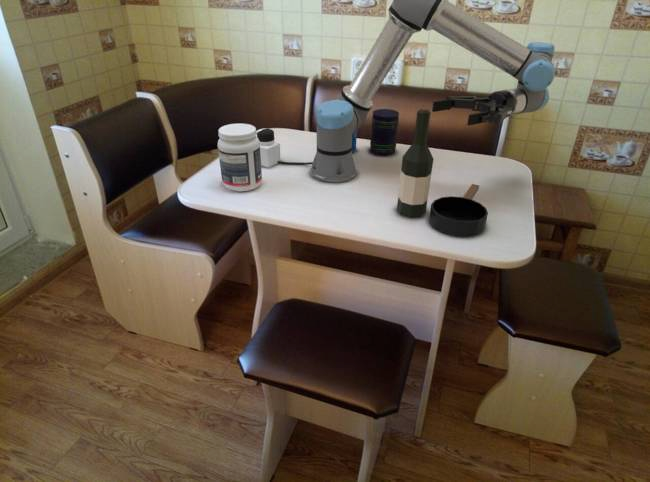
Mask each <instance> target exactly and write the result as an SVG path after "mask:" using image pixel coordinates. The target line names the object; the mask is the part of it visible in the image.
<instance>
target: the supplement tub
mask: <svg viewBox="0 0 650 482" xmlns="http://www.w3.org/2000/svg"><path fill="white" fill-rule="evenodd" d="M218 137H219V139H218V141H217V152H218V159H219V167H220V176H221V183H222V185H223V187H225V188H226V189H228V190H230V191H234V192H246V191H247V192H248V191H251V190H254V189H257V188H258V187H259V186H261V184H262V182H263V172H262V166H261V155H260V142H259V139H258V138H257V127H256V126H254V125H252V124H249V123H229V124H225V125H222V126H221V127H219V128H218Z"/></svg>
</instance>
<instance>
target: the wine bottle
mask: <svg viewBox="0 0 650 482" xmlns="http://www.w3.org/2000/svg"><path fill="white" fill-rule="evenodd" d="M431 112H432V111H430V108H429V107H426V106H424V107H423V106H422V107H419V108H418V110H417V111H416V118H415V126H414V134H413V143H412V144H411V145H410V146H409V148H408V149H407V150H406V152H405V153H404V154H403V155H402V157H401V159H402V160H401V169H400V176H399V186H398V196H397V197H398V198H397V204H396V211H397V212H398V214H399V215H400V216H402V217H406V218H409V219H416V218H422V217H423V216H424V215H425V214H426V212H427V208H428V207H427V206H428V199H429V192H430V187H431V186H430V185H431V179H432V173H433V165H434V157H433V155H432V153H431V150H430V147H429V146H428V144H427V143H428V142H427V141H428V135H429V126H430V120H431Z"/></svg>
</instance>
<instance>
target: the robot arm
mask: <svg viewBox="0 0 650 482" xmlns="http://www.w3.org/2000/svg"><path fill="white" fill-rule="evenodd" d="M387 11H388V20H387V21H386V22H385V24H384V26H383V27H382V29H381V31H380V33H379V35H378V37H377V39H376V40H375V41H374V43H373V45H372V47H371V49H370V50H369V52H368V54H367V55H366V57H365V58H364V60H363V62H362V63H361V66H360V67H359V69H358V71H357V73H356V74H355V76H354V78H353V79H352V81H351V82H350V84H349V85H344V86H343V88H342V89H341V91H340V93H339V94H338V96H337V98H336V99H331V100H328V101H324V102H321V103H320V104H319V106H318V107H317V109H316V115H315V116H316V117H315V120H316V121H315V122H316V153H315V154H314V158H313V160H312V161H311V162H309V161H308V162H307V161H306V162H293V161H292V162H290V161H289V162H288V161H278V163H277V164H281V165H282V164H283V165H296V166H297V165H298V166H299V165H300V166H306V165H311V167H310V168H311V169H310V174H311V176H312V177H313V178H314V179H316V180H318V181H320V182H325V183H343V182H344V183H345V182H349V181H351V180H352V179H354V178H355V177H356V176H357V167H356V164H355V160H354V156H353V152H351V151H352V134H353V133H354V132H355V131H356V130H357V131H358V129H359V128H360V127H361V126H362V125H363V124H365V123H364V122H365V121H366V119H367V117H368V114H369V113H370V111H371V109H372V107H373V106H374V102H373V98H374V97H375V95H376V93H377V91H378V90H379V89H380V87H381V86H382V84H383V82H384V80H385V79H386V77H387V75H388V74H389V72H390V71H391V69H392V68H393V66H394V64H395V63H396V61H397V60H398V58H399V57H400V55H401V53H402V52H403V50H404V48H405V47H406V45H407V44H408V42H409V40H410V39H411V37H412V36H413V35H414V34H416V33H420V32H421V31H422V30H424V31H426V32H428V31H429V32H430V31H434V32H436V33H437V34H439V35H441V36H443V37H445V38H446V39H448V40H450V41H451V42H454V43H455V44H457V45H458V46H460V47H462V48H464V49H465V50H466V51H468V52H469V53H472V54H474V55H475V56H477V57H479V58H481V59H482V60H484V61H486V62H487V63H489V64H491V65H493V66H494V67H496V68H498V69H499V70H501V71H503V72H505V73H506V74H508V75H510V76H511V77H513V78H514V79H516V80H517V84H516V87H515V88H506V89H502V90H497V91H493V92H492V93H490V94H489V95H488V96H487V97H480V96H479V95H469V96H466V95H465V96H464V95H461V96H460V95H459V96H457V95H454V96H452V95H447V96H446V97H445V99H440V100H436V101H433V103H432V108H431V112H432V113H435V112H436V113H437V112H442V111H450V110H451V109H465V110H466V109H467V110H471V111H473V112H475V113H469V114H468V118H467V123H466V126H470V127H471V126H474V125H478V124H484V123H487V122H488V123H493V122H494V124H496V125H500V124H501V123H502V122H503V121H504V120H505V119H507V118H510V117H512V116H516V115H521V114H527V113H533V112H536V111H540V110H542V109H544V108H545V107H546V105H547V104H548V103H549V100H550V94H549V89H548V87H550V85H552V83H553V82H554V79H555V74H556V69H555V65H553V58H554V52H555V45H554V44H553V43H549V42H543V41H533V42H529V43H528V44H527V45H526V46H525V45H523V44H522V43H519V42H518V41H516V40H515V39H513V38H511V37H509V36H508V35H506V34H505V33H503V32H501V31H500V30H498V29H496V28H494V27H493V26H491V25H489V24H488V23H486V22H485V21H482V20H481V19H479V18H478V17H476V16H474V15H473V14H471V13H469V12H467V11H465V10H464V9H462V8H460V7H459V6H458V5H455V4H454V3H452V2H450V1H449V0H392V2H391V3H390V6H389V8H388V9H387Z"/></svg>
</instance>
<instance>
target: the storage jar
mask: <svg viewBox="0 0 650 482" xmlns="http://www.w3.org/2000/svg"><path fill="white" fill-rule="evenodd" d="M399 118H400V112H399V111H397V110H395V109H390V108H379V109H375V110H373V111H372V117H371V136H370V139H369V140H370V141H369V147H370V149H369V153H370V154H372V155H373V156H377V157H390V156H391V157H392V156H394V155H395V154H396V148H397V141H398V138H397V133H398V128H399V122H400V119H399Z"/></svg>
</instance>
